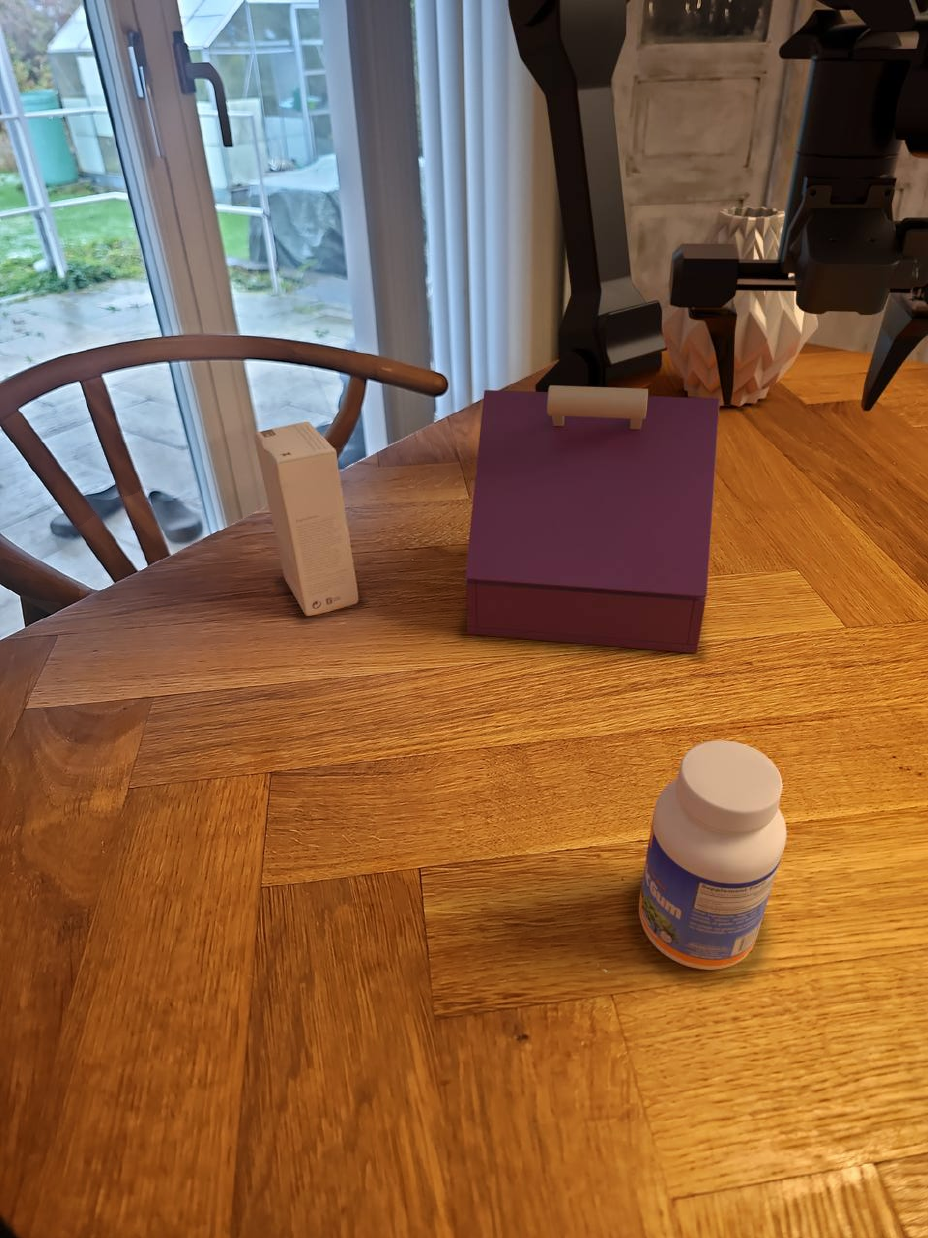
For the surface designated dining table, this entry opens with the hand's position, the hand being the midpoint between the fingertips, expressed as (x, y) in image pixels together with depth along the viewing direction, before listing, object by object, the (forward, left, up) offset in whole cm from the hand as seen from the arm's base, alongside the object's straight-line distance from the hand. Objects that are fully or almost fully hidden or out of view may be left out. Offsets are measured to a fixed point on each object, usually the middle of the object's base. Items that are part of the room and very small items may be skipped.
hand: (794, 406), depth 59 cm
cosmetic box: (-20, -28, -12) cm, 36 cm away
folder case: (-6, -14, -12) cm, 19 cm away
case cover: (-5, -15, -3) cm, 16 cm away
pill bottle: (+16, -31, -12) cm, 37 cm away
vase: (-22, +27, -12) cm, 37 cm away
